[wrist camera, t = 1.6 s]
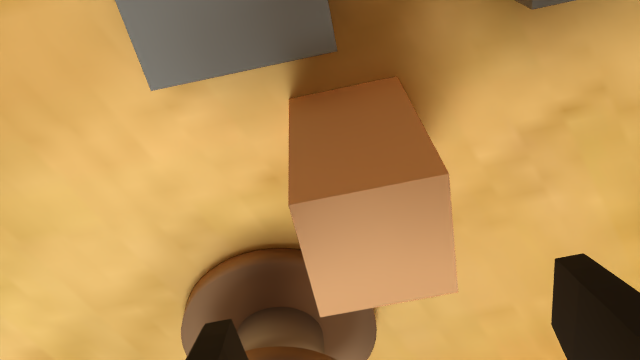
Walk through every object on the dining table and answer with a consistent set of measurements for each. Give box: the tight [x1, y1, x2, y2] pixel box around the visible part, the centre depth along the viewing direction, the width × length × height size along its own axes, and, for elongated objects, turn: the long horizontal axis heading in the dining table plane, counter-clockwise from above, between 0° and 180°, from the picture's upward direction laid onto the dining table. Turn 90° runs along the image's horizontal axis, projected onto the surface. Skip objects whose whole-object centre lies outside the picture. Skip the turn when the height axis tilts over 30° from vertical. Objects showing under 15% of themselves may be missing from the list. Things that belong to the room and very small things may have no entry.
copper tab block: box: [289, 76, 458, 317], centre depth 16 cm, size 4×4×7 cm
